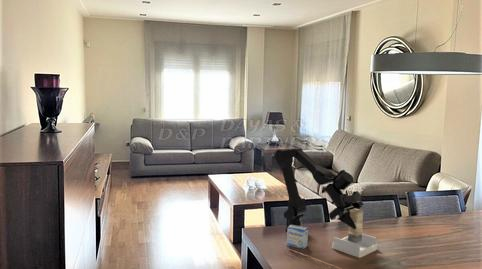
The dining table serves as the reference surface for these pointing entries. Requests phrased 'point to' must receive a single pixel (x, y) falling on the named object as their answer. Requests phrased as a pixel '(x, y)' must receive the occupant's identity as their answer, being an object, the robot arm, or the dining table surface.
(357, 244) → the white open box
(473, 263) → the dining table surface
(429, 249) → the dining table surface
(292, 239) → the medicine box
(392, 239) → the dining table surface
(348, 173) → the robot arm
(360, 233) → the birch block
